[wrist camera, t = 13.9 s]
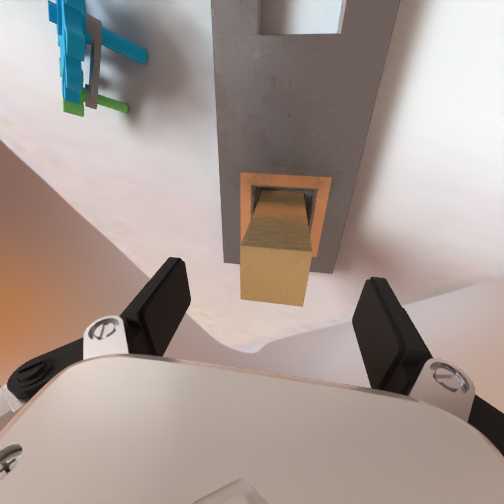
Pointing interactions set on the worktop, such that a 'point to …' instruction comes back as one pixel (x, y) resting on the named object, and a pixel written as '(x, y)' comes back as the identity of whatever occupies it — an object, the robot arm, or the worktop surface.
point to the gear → (73, 51)
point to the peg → (276, 250)
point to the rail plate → (295, 114)
